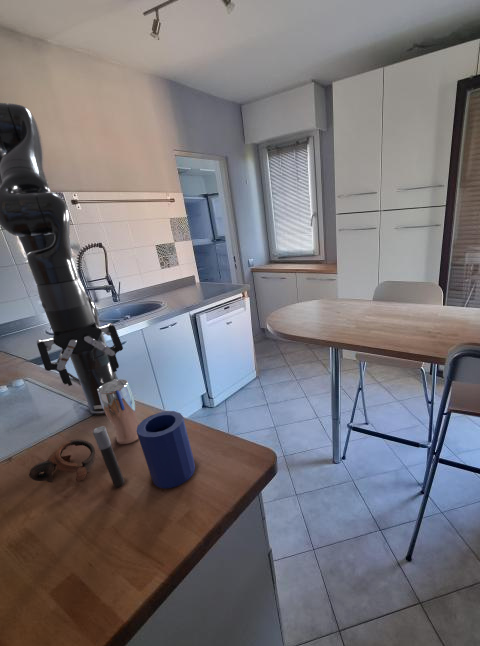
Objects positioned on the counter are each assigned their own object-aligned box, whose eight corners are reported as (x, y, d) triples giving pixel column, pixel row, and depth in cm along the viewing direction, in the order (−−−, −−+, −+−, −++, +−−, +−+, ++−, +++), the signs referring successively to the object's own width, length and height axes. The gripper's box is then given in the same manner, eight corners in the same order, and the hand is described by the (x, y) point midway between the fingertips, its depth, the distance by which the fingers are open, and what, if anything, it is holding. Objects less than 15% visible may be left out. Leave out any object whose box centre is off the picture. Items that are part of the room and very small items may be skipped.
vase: (147, 472, 73) (131, 423, 68) (186, 453, 78) (174, 406, 73) (160, 495, 67) (144, 443, 61) (201, 473, 72) (189, 423, 66)
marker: (112, 483, 71) (91, 429, 65) (123, 478, 72) (104, 424, 66) (114, 489, 69) (93, 434, 63) (126, 484, 70) (106, 429, 65)
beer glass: (123, 449, 81) (104, 396, 75) (109, 439, 85) (91, 388, 79) (149, 434, 86) (134, 383, 80) (135, 425, 90) (120, 376, 84)
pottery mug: (80, 454, 81) (87, 430, 78) (100, 482, 78) (107, 459, 74) (19, 476, 71) (24, 449, 68) (38, 509, 67) (44, 483, 64)
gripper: (102, 294, 72) (124, 362, 79) (21, 309, 64) (52, 383, 71) (110, 299, 67) (132, 371, 73) (22, 316, 59) (55, 395, 65)
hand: (92, 377), depth 72 cm, fingers open, 8 cm apart
